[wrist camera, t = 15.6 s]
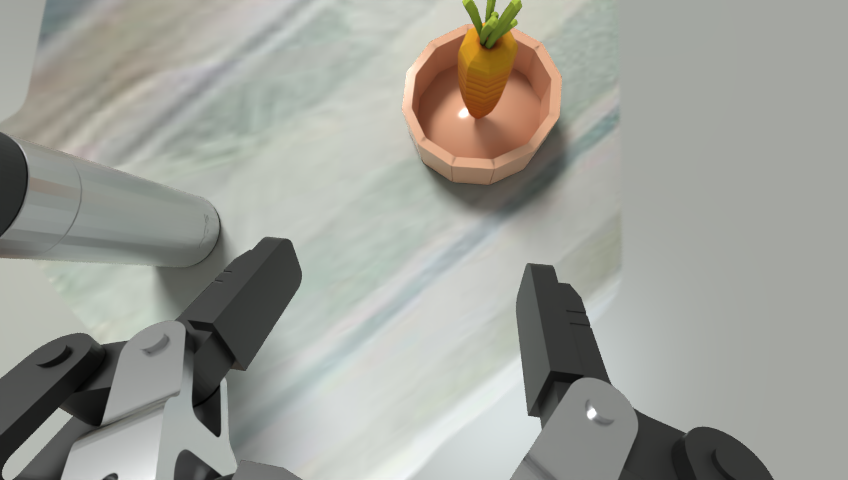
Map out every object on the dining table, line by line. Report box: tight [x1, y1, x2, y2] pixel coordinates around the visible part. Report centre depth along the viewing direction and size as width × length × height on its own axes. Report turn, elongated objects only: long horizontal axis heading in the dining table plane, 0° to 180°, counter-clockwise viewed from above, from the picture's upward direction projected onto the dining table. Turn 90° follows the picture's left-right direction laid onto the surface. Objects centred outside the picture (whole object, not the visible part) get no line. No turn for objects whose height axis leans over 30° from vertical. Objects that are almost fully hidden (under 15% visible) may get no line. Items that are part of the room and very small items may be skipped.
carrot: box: [458, 0, 522, 119], centre depth 28 cm, size 5×5×15 cm
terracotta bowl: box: [402, 24, 562, 185], centre depth 34 cm, size 16×16×5 cm
